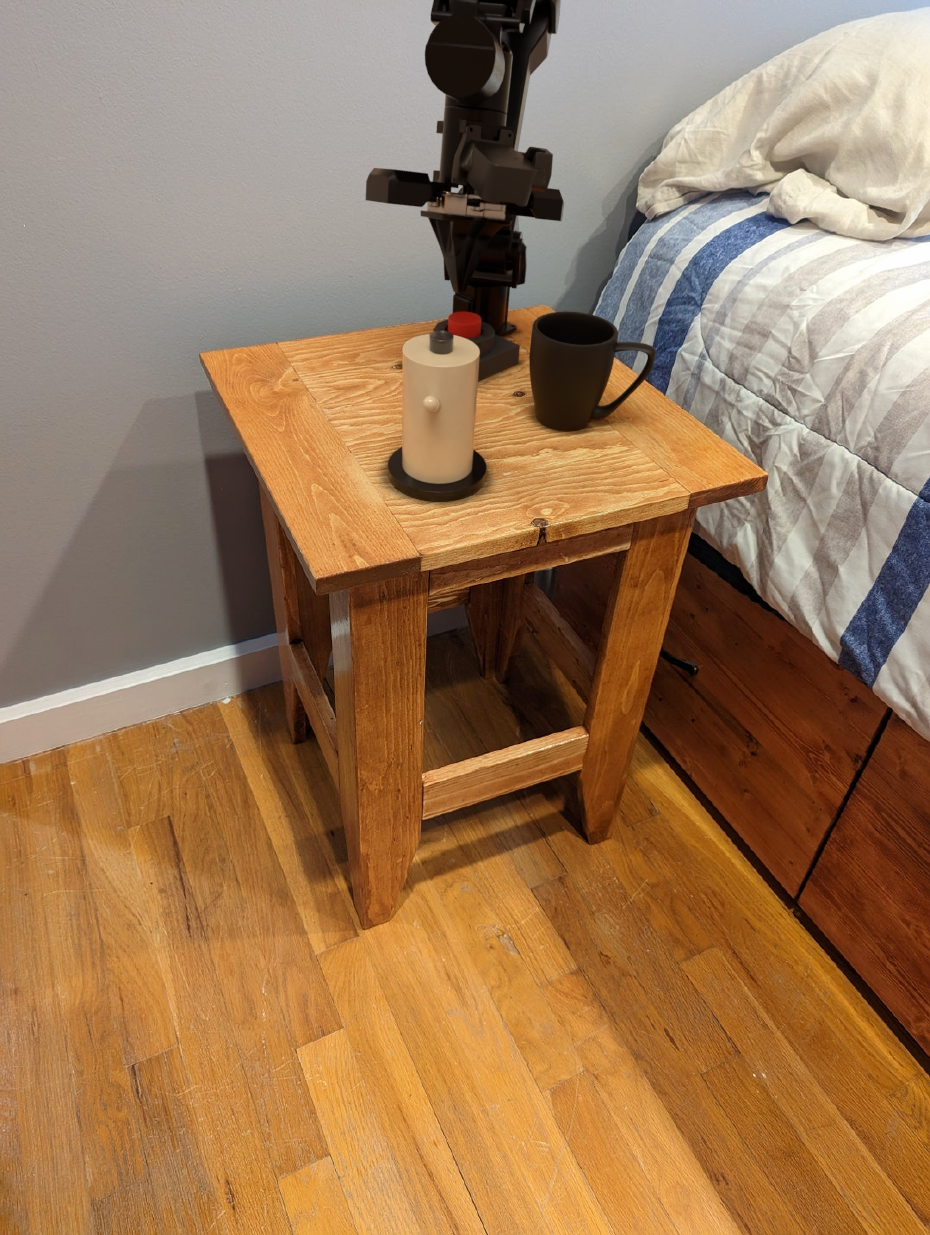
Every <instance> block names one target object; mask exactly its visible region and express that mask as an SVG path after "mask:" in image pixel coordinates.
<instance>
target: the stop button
mask: <svg viewBox="0 0 930 1235" xmlns="http://www.w3.org/2000/svg"><path fill="white" fill-rule="evenodd" d="M447 319H448V332H450V333H452V334H453V335H456V336H460V337H463V338H475V337H477V336H480V334H481V317H480V316H479V315H477V314H475V313H472V312H455V313H453V312H452V313H450V314H449V315H448V317H447Z"/></svg>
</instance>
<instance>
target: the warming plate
mask: <svg viewBox="0 0 930 1235" xmlns="http://www.w3.org/2000/svg"><path fill="white" fill-rule="evenodd" d="M487 466H488V465H487V463H486V460H485V459H484V457H483V455H481V454H480V453H479V452H478V451H477V450H475V449H474V450H473V465H472V470H471V472H470V473H469V474H468V475H467V476H466V477H465V478H463V479H461V480H459V481H456V482H452V483H445V484H434V483H426V482H422V481H419V480H417V479H414V478H413V477H411V476H409V475H408V474H407V473H406V472H405V471H404V469H403V466H402V446H400V447H399V448H397V449H396V450H395V451H393V452H392V454H391V455H390V456H389V458H388V460H387V477H388V480H389V483H390V484H391V485H392V486H393V487H394V488H395V489H396V490H397V491H399V492H400V493H402V494H403V495H405V496H408V497H410V498H414V499H417V500H422V501H427V502H441V503H442V502H452V501H458V500H462V499H464V498H468V497H470V496H472V495H474V494H475V493H477V492H478V491H480V490H481V489H482V487H483V486H484V485H485V482H486V479H487V470H488V469H487Z"/></svg>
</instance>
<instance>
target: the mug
mask: <svg viewBox="0 0 930 1235" xmlns="http://www.w3.org/2000/svg"><path fill="white" fill-rule="evenodd" d="M618 338H619V330H618V328H617V327H616V326H615V325H614V323H612V322H611V321H609V320H608V319H605V318H603V317H602V316H601V317H600V316H599V315H594V314H591V313H586V312H580V311H567V310H566V311H553V312H549V313H545V314H542V315H540V316H539V317H537V318H535V320H534V321H533V323H532V326H531V336H530V344H529V346H530V347H529V356H528V358H529V359H528V360H529V361H528V362H529V365H528V366H529V377H530V379H529V380H530V388H531V392H532V399H533V404H534V409H535V417H536V420H537V421H538V422H539V423H540V424H541V425H543V426H544V427H546V428H549V429H551V430H556V431H560V432H561V431H562V432H574V431H580V430H582V429H585V428H586V427H587V426H589V424H590V422H591V421H595V422H596V421H602V420H604V419H606V418H608V417H609V416H610V415H612V414H613V413H614V412H615V411H616V410H617V409H618V408H619V407H620V406H621V405H622V404H623V403H624V402H625V401H626V400H628V398H629V397H630V396H631V395H632V394H633V393H634V392H635V391H636V390H637V389H638V388H639V387H640V386H641V385H642V383H643V382H645V380H646V379H647V378H648V377H649V375H650V374H651V372H652V370H653V368H654V364H655V361H656V357H657V350H656V348H655V347H654V346H653V345H651V344H647V343H645V342H635V341H618ZM625 351H636V352H641V353H644V354H646V356H647V359H646V362H645V365H644V366H643V368H642V370H641V372H640V373H639V374H638V376H637V377H636V378H635V379H634V380H633V382H631V384H630V385H629V387H627V388H626V390H625V391H624V392H622V393H621V394H620V395H619V396H618V397H617V398H615V399H614V400H613V401H611V402H609V403H607V404H604V405H600V402H601V400H602V397H603V395H604V393H605V390H606V389H607V386H608V382H609V380H610V377H611V373H612V370H613V366H614V361H615V356H616V353H619V352H625Z"/></svg>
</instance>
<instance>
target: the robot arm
mask: <svg viewBox="0 0 930 1235" xmlns="http://www.w3.org/2000/svg"><path fill="white" fill-rule="evenodd" d="M561 2H562V0H433V1H432V5H431V11H430V22H431V23H432V25H434V28H433V29H432V31H431V33H430V34H429V37H428V39H427V42H426V44H425V49H424V65H425V68H426V72H427V75H428V77H429V79H430V80H431V83H432V84H433V85H434V86H435V87H436V89H437V90H438V91H440V92H441V93H443V94H444V95H445V96H444V97H445V98H444V109H443V120H437V121H436V134H439V135H442V136H441V148H440V162H439V170H436V169H435V170H433V171H432V172H433V173H432V181H431V179H430V176H429V173H427V172H420V171H411V170H403V169H394V168H380V167H374V168H373V169H371V171H370V172H369V173H368V176H367V178H366V181H365V201H368V202H375V203H381V204H382V203H384V204H387V205H388V204H389V205H397V206H406V207H407V206H408V207H415V208H416V207H417V208H423V207H424V206H425V205H427V207H426V210H420V217H424V218H427V219H428V221H429V223H430V226H431V228H432V231H433V233H434V236H435V238H436V241H437V243H438V246H439V248H440V251H441V255H442V258H443V278H444V281H448V282H449V281H450V285H451V288H452V291H453V293H454V294H453V296H452V313H455V312H472V313H475V314H477V315H479V316H480V317H481V321H482V322H485V323H487V324H489V325H491V327H492V328H493V329H494V331H495V335H498V336H500V337H502V338H503V337H504V336H507V335H509V334H511V333H514V332H516V331H517V330H518V329H517V328H518V327H517V325H516V324H514V323H511V322H509V321H508V317H509V306H510V293H511V292H510V291H511V289H516V290H517V288H518V286H520V285H525V283H526V277H527V265H528V264H527V263H528V262H527V260H528V258H527V257H528V256H527V255H528V252H527V248H528V247H527V245H526V244H525V242H524V236H523V235H524V234H523V231H520V226H519V217H527V218H534V219H536V220H545V221H556V222H563V216H564V209H565V202H564V199H563V196H562V192H561V190H560V189H559V188H549V185H550V181H551V178H552V174H553V173H552V172H553V162H554V161H553V160H554V159H553V158H554V154H553V153H552V152H551V151H550V150H549V149H547V148H544V147H537V146H529V147H527V149H526V151H525V152H524V151H519V147H520V140H521V134H522V128H523V123H524V122H523V121H524V116H525V109H526V103H527V97H528V93H529V92H528V91H529V85H530V79H531V76H532V75H533V73H534V72H535V71H536V70H538V68H539V67H540V66H541V64H542V63H543V62H544V61H545V60H546V59H547V58H548V56H549V50H550V44H551V40H552V35H557V34H558V31H559V22H560V16H561V5H562V4H561ZM460 186H461V187H460ZM459 187H460V189H459ZM452 188H454V189H459V190H458V192H453V191H452Z"/></svg>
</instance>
